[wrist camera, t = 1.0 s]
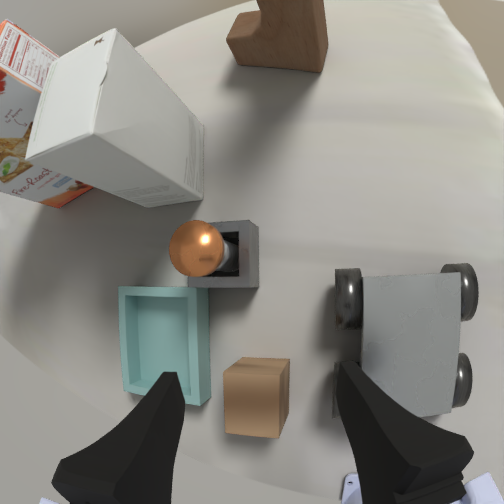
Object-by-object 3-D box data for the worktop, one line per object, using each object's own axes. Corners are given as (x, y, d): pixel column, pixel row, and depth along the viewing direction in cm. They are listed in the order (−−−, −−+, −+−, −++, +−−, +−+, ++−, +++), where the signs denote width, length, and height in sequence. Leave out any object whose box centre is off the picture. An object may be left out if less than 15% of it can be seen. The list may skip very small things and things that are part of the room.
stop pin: (250, 278, 26) (220, 276, 19) (210, 279, 27) (168, 276, 20) (250, 235, 26) (220, 218, 19) (210, 237, 27) (169, 222, 20)
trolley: (449, 396, 20) (469, 417, 16) (332, 405, 23) (331, 431, 18) (455, 265, 22) (481, 260, 17) (334, 270, 24) (335, 267, 20)
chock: (288, 412, 24) (278, 438, 19) (243, 409, 25) (225, 432, 20) (289, 358, 25) (279, 375, 20) (242, 357, 26) (223, 371, 21)
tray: (211, 396, 26) (200, 405, 23) (138, 384, 28) (123, 390, 25) (208, 287, 27) (196, 287, 24) (133, 286, 29) (118, 286, 26)
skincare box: (152, 136, 30) (50, 59, 15) (209, 123, 29) (119, 20, 14) (146, 212, 29) (18, 162, 14) (207, 204, 28) (89, 131, 13)
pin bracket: (259, 287, 26) (249, 287, 23) (203, 287, 27) (188, 287, 24) (258, 227, 26) (249, 219, 23) (203, 230, 28) (188, 224, 25)
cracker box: (60, 212, 33) (-85, 170, 13) (58, 170, 34) (-71, 117, 14) (148, 163, 30) (-18, 61, 10) (142, 119, 31) (5, 13, 11)
